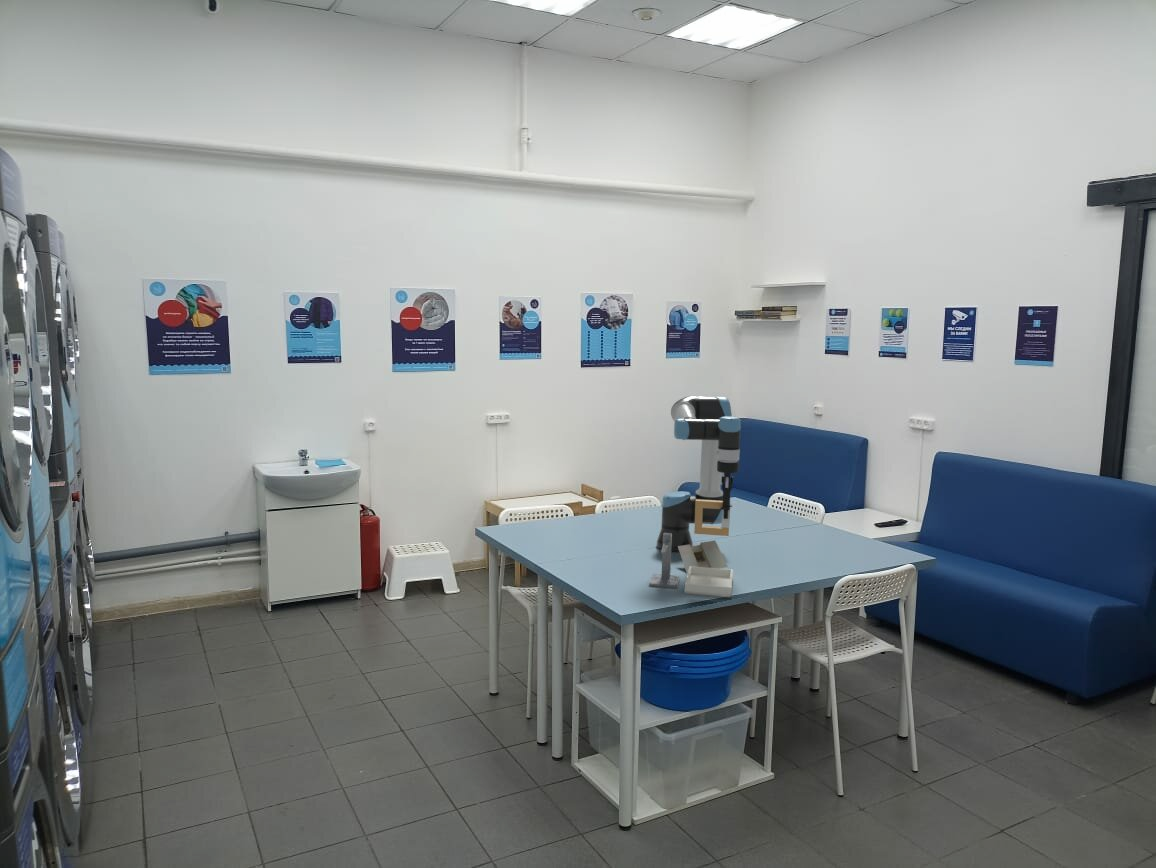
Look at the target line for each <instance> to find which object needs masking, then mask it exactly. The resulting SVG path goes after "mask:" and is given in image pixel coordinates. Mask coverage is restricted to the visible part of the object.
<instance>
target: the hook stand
mask: <svg viewBox="0 0 1156 868" xmlns="http://www.w3.org/2000/svg"><path fill="white" fill-rule="evenodd" d="M671 545H672V533H663V546H662V549H660V553H661V556H662V557H661V573H660V574H659V573H652V575H651V577H650V580H649V582H648V586H649V587H656V588H657V587H658V588H669V589H671V588H672V589H678V587H679V583H680V579H681V575H675V574H671V573H672V572H671V570H672V551H671Z"/></svg>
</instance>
